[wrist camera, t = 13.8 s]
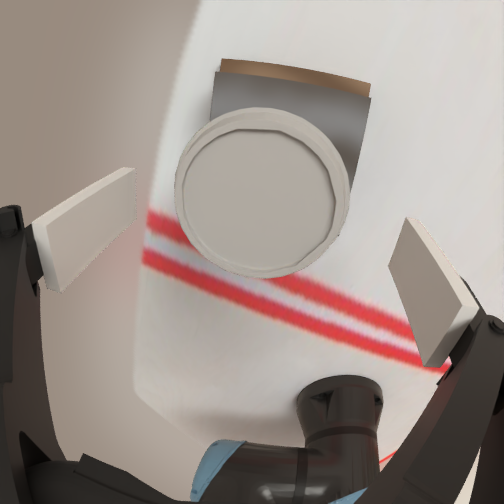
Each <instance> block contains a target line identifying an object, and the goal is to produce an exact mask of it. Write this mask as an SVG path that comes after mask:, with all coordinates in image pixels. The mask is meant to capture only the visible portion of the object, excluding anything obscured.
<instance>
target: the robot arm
mask: <svg viewBox="0 0 504 504" xmlns="http://www.w3.org/2000/svg"><path fill="white" fill-rule="evenodd" d="M136 217H137V216H136V169H134V168H126V167H122V168H120V169H119V170H117V171H115V172H113V173H111V174H109V175H108V176H106V177H104V178H102V179H101V180H99V181H97V182H95V183H93V184H92V185H90V186H88V187H87V188H85V189H83V190H81V191H80V192H78V193H76V194H75V195H73V196H71V197H70V198H68V199H67V200H65V201H64V202H62V203H60V204H59V205H57V206H56V207H54V208H52V209H51V210H49V211H48V212H47V213H45V214H43V215H42V216H40V217H39V218H37V219H36V220H34V221H33V222H32V223H31V224H30V225H29V226H27V227H26V228H24V223H23V218H22V212H21V207H20V206H18V205H9V206H5V207H2V208H0V504H454V502H455V500H456V499H457V497H458V495H459V493H460V491H461V489H462V487H463V485H464V483H465V481H466V478H467V477H468V474H469V472H470V470H471V468H472V466H473V463H474V461H475V458H476V456H477V454H478V451H479V449H480V447H481V449H480V455H479V462H478V466H477V472H476V477H475V481H474V486H473V490H472V494H471V498H470V502H469V504H504V322H502V321H501V320H500V319H499V318H497V317H495V316H492V315H486V313H485V311H484V310H483V308H482V306H481V305H480V303H479V301H478V300H477V298H475V295H474V293H473V292H472V291H471V289H470V287H469V285H468V284H467V282H466V281H465V280H464V279H463V278H461V277H460V276H459V275H458V273H457V272H456V270H455V269H454V267H453V266H452V264H451V263H450V261H449V260H448V258H447V257H446V256H445V254H444V253H443V251H442V250H441V249H440V247H439V246H438V244H437V243H436V242H435V240H434V239H433V238H432V236H431V235H430V234H429V232H428V231H427V230H426V228H425V227H424V226H423V224H422V223H421V222H420V221H419V220H416V219H412V218H408V217H406V218H405V221H404V224H403V227H402V230H401V233H400V235H399V238H398V241H397V244H396V247H395V249H394V252H393V255H392V257H391V260H390V262H389V265H388V267H389V270H390V272H391V275H392V277H393V280H394V282H395V285H396V287H397V290H398V292H399V295H400V298H401V300H402V303H403V306H404V309H405V311H406V314H407V317H408V320H409V323H410V326H411V329H412V332H413V335H414V338H415V341H416V344H417V347H418V350H419V353H420V356H421V360H422V363H423V366H424V367H439V368H440V367H441V366H442V365H443V363H444V362H445V360H446V359H447V358H448V356H450V359H451V362H452V364H451V366H450V367H449V368H448V370H447V371H446V372H445V374H444V375H443V376H442V378H441V379H440V380H439V381H438V383H437V384H436V385H438V388H437V390H436V391H435V393H434V395H433V397H432V398H431V400H430V402H429V403H428V405H427V407H426V408H425V410H424V411H423V413H422V415H421V416H420V418H419V419H418V421H417V422H416V424H415V426H414V427H413V429H412V430H411V432H410V433H409V434H408V436H407V437H406V439H405V440H404V442H403V443H402V445H401V446H400V447H399V449H398V450H397V451H396V453H395V454H394V455H393V457H392V458H391V459H390V461H389V462H388V463H387V465H386V466H385V467H384V469H383V470H382V471H381V472H380V468H379V454H378V443H377V429H378V425H379V421H380V417H381V413H382V408H383V395H382V390H381V388H380V386H379V385H378V384H377V383H376V382H374V381H373V380H371V379H368V378H365V377H361V376H352V375H344V376H334V377H329V378H325V379H322V380H319V381H317V382H314V383H312V384H310V385H309V386H307V387H306V388H305V389H304V390H303V391H302V392H301V393H300V394H299V396H298V400H297V415H298V418H299V421H300V424H301V427H302V430H303V433H304V436H305V448H298V447H285V446H274V445H265V444H257V443H249V442H247V441H232V440H218V441H215V442H214V443H213V444H211V445H210V447H209V448H208V449H207V451H206V452H205V454H204V456H203V458H202V460H201V462H200V464H199V466H198V469H197V471H196V474H195V477H194V480H193V484H192V490H191V495H190V499H191V501H192V502H190V501H189V502H188V501H177V500H173V499H171V498H169V497H167V496H166V495H164V494H162V493H160V492H159V491H157V490H155V489H154V488H152V487H150V486H149V485H147V484H145V483H144V482H142V481H140V480H139V479H137V478H136V477H134V476H133V475H131V474H130V473H128V472H126V471H124V470H121V469H119V468H116V467H113V466H111V465H109V464H106V463H104V462H102V461H99V460H97V459H95V458H93V457H90V456H88V455H86V454H84V453H83V455H82V457H81V459H80V461H79V462H78V461H67V460H66V458H65V456H64V454H63V452H62V450H61V448H60V447H59V445H58V442H57V439H56V435H55V431H54V426H53V421H52V416H51V411H50V406H49V400H48V393H47V387H46V380H45V371H44V362H43V352H42V341H41V340H42V339H41V321H40V287H39V284H38V280H39V279H40V278H41V277H42V276H44V279H45V283H46V286H47V289H50V290H53V291H56V292H59V293H62V292H63V291H64V290H65V289H66V288H67V287H68V286H69V284H70V283H71V282H72V281H73V280H74V279H75V278H76V277H77V276H78V275H79V274H80V273H81V272H82V271H83V270H84V269H85V268H86V267H87V266H88V265H89V264H90V263H91V262H92V261H93V260H94V259H95V258H96V257H97V256H98V255H99V254H100V253H101V252H102V251H103V250H104V249H105V248H106V247H107V246H108V245H109V244H110V243H111V242H112V241H114V240H115V239H116V238H117V237H118V236H119V235H120V234H121V233H122V232H123V231H124V230H125V229H126V228H127V227H129V226H130V225H131V224H132V223H133V222H134V221H135V220H136V219H137V218H136Z"/></svg>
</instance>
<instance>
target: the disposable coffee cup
mask: <svg viewBox="0 0 504 504" xmlns="http://www.w3.org/2000/svg"><path fill="white" fill-rule="evenodd" d="M174 189H175V207H176V212H177V216H178V219H179V222H180V225H181V227H182V229H183V231H184V233H185V234H186V236H187V237H188V239H189V241H190V242H191V244H192V245H193V246H194V247H195V248H196V249H197V250H198V251H199V252H200V253H201V254H202V255H203V256H204V257H205V258H206V259H207V260H209V261H211V262H212V263H214V264H216V265H217V266H219V267H221V268H222V269H224V270H225V271H229V272H232V273H235V274H238V275H241V276H245V277H251V278H265V279H266V278H275V277H282V276H285V275H288V274H291V273H294V272H297V271H299V270H302V269H304V268H305V267H307V266H308V265H310V264H311V263H313V262H314V261H316V260H317V259H318V258H319V257H320V256H321V255H322V254H323V253H324V252H325V251H326V250H327V249H328V248H329V246H330V245H331V244H332V243H333V242H334V241H335V239H336V238H337V236H338V235H339V233H340V231H341V229H342V227H343V225H344V223H345V220H346V216H347V213H348V210H349V200H350V187H349V180H348V174H347V171H346V168H345V166H344V163H343V161H342V158H341V156H340V154H339V153H338V151H337V150H336V148H335V147H334V145H333V144H332V142H331V141H330V140H329V139H328V138H327V136H326V135H325V134H324V133H322V132H321V131H320V130H319V129H318V128H317V127H315V126H314V125H312V124H311V123H310V122H308V121H307V120H305V119H303V118H301V117H299V116H297V115H294V114H292V113H289V112H286V111H283V110H278V109H273V108H258V107H252V108H245V109H239V110H236V111H232V112H229V113H226V114H224V115H221V116H219V117H217V118H215V119H214V120H212V121H211V122H209V123H208V124H206V125H205V126H204V127H203V128H201V129H200V130H199V131H198V132H197V133H196V134H195V135H194V136H193V138H192V139H191V140H190V142H189V143H188V144H187V146H186V147H185V149H184V151H183V153H182V155H181V157H180V160H179V163H178V167H177V170H176V174H175V184H174Z"/></svg>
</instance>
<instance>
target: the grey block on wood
mask: <svg viewBox="0 0 504 504" xmlns="http://www.w3.org/2000/svg"><path fill="white" fill-rule="evenodd" d="M370 86H371V84H370V83H366V82H362V81H358V80H355V79H351V78H346V77H342V76H338V75H333V74H329V73H324V72H319V71H314V70H309V69H303V68H298V67H292V66H285V65H279V64H271V63H264V62H255V61H246V60H234V59H222V60H221V68H220V72H215V79H214V87H213V96H212V104H211V113H210V122H211V121H212V120H214V119H215V118H217V117H219V116H221V115H224V114H226V113H229V112H232V111H236V110H239V109H245V108H252V107H258V108H273V109H278V110H283V111H286V112H289V113H292V114H294V115H297V116H299V117H301V118H303V119H305V120H307V121H308V122H310V123H311V124H312V125H314V126H315V127H317V128H318V129H319V130H320V131H321V132H322V133H324V134H325V135H326V136H327V138H328V139H329V140H330V141H331V142H332V144H333V145H334V147H335V148H336V150H337V151H338V153H339V154H340V156H341V158H342V161H343V163H344V166H345V168H346V171H347V174H348V180H349V187H350V192H351V188H352V184H353V180H354V176H355V172H356V168H357V163H358V159H359V155H360V150H361V146H362V141H363V137H364V132H365V127H366V123H367V118H368V113H369V108H370V103H371V98H369V92H370ZM338 236H339V235H338Z"/></svg>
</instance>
